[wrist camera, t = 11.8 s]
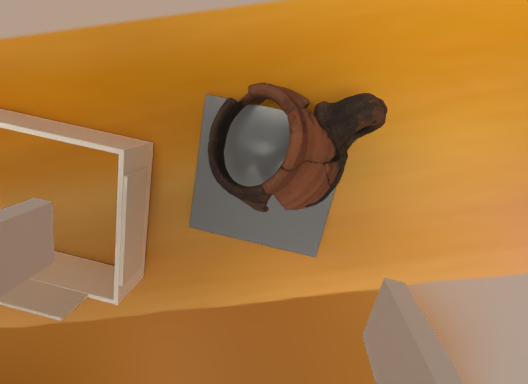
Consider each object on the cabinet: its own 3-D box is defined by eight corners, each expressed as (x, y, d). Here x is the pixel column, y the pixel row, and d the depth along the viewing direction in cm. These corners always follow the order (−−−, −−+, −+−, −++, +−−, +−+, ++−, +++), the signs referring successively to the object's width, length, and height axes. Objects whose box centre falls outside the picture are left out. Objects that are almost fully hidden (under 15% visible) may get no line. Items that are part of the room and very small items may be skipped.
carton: (-15, 236, 31) (-110, 275, 24) (-32, 101, 26) (-154, 100, 19) (146, 277, 29) (97, 331, 22) (157, 143, 25) (100, 158, 18)
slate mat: (190, 225, 27) (189, 227, 27) (206, 94, 23) (205, 94, 23) (315, 255, 26) (315, 257, 26) (353, 124, 23) (353, 124, 22)
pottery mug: (281, 228, 26) (221, 236, 19) (247, 137, 28) (182, 116, 21) (419, 165, 20) (406, 143, 13) (361, 59, 22) (323, -7, 16)
